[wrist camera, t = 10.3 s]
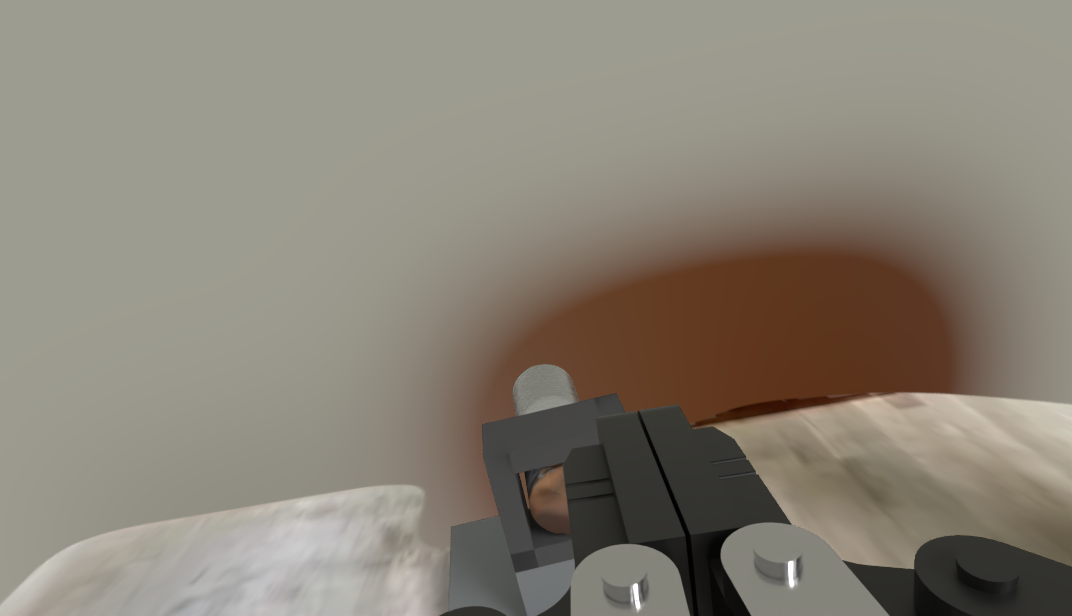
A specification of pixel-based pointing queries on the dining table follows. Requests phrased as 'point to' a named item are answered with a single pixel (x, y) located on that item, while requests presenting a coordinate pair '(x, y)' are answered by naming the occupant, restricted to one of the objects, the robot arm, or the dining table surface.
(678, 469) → the robot arm
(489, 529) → the base plate
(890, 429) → the dining table surface
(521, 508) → the rubber collar
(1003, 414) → the dining table surface
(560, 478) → the steel peg
